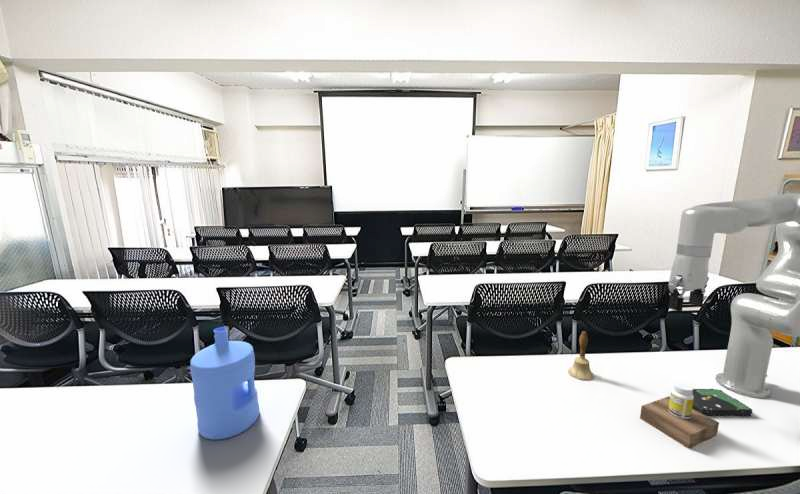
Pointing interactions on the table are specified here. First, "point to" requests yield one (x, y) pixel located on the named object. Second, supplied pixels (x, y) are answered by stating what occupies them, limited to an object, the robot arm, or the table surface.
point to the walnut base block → (679, 423)
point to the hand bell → (581, 362)
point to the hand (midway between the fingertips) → (685, 307)
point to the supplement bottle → (681, 400)
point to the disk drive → (718, 404)
